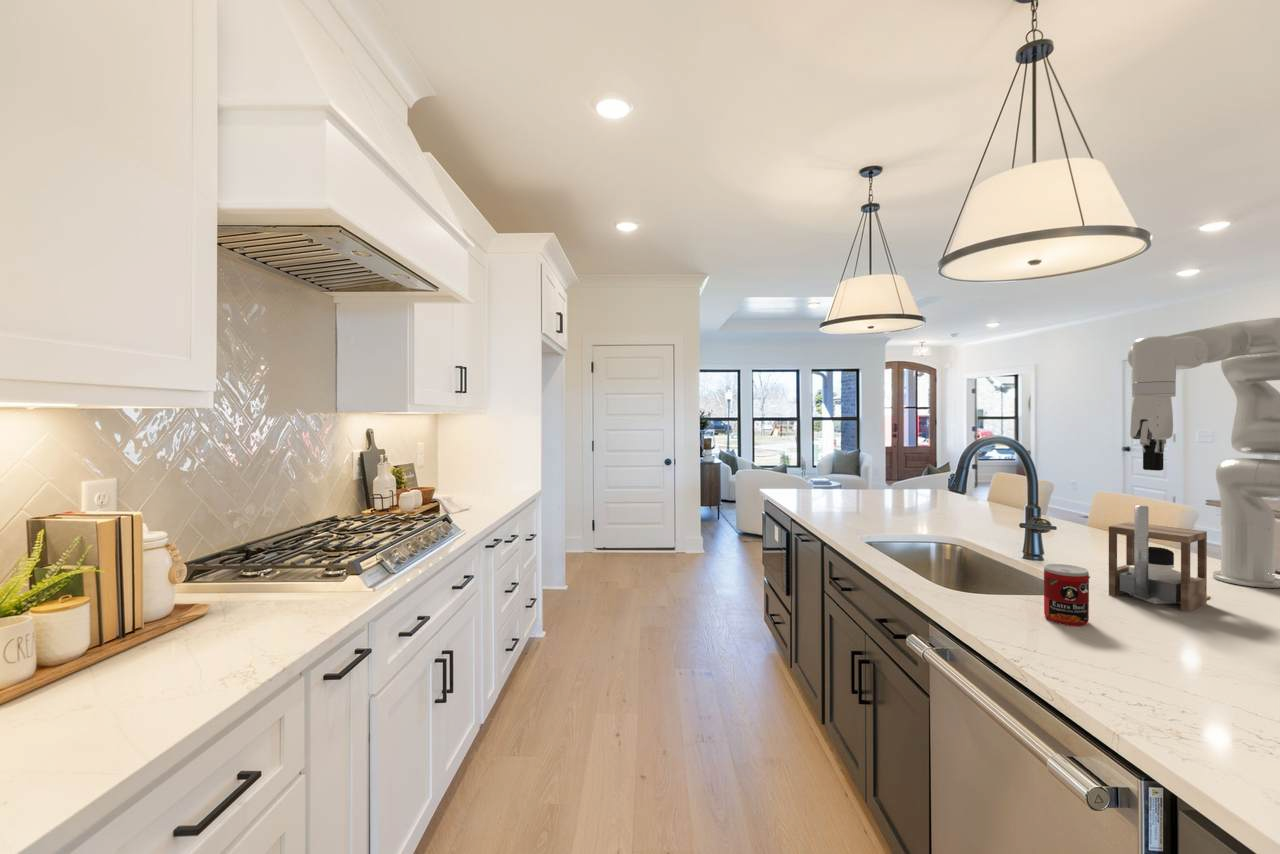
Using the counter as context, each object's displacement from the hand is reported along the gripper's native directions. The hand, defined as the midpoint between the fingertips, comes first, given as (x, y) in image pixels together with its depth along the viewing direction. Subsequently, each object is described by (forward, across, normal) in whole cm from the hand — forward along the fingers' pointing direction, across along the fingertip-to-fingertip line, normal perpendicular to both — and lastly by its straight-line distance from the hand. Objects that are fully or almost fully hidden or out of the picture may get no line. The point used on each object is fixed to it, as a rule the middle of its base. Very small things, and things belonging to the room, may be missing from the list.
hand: (1153, 469), depth 133 cm
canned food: (+31, +31, -4) cm, 44 cm away
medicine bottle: (+31, -2, 0) cm, 31 cm away
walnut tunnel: (+30, -2, 0) cm, 30 cm away
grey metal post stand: (+29, 0, 0) cm, 29 cm away
